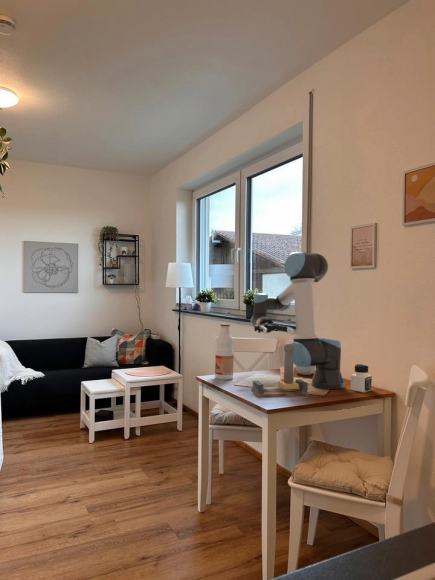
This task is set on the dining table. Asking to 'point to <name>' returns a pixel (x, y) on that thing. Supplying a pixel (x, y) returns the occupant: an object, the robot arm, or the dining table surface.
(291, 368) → the post
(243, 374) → the dining table surface
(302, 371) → the teacup
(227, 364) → the fruit juice
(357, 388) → the medicine bottle
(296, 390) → the rail board
